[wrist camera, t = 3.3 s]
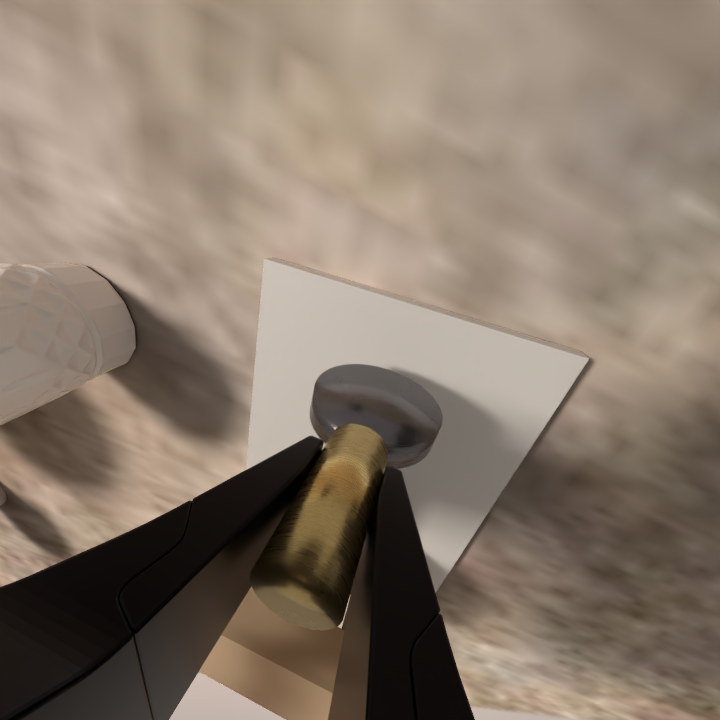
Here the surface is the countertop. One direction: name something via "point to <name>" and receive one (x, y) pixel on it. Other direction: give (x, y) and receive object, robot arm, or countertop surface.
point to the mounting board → (425, 367)
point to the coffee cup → (2, 496)
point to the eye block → (277, 661)
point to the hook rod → (342, 489)
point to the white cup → (57, 333)
